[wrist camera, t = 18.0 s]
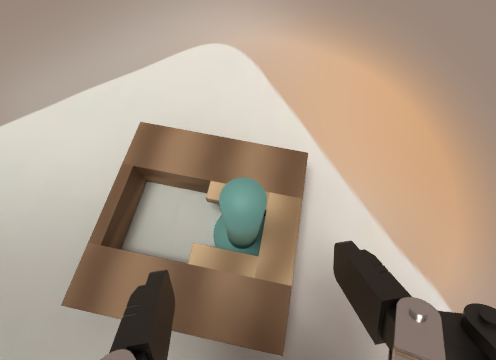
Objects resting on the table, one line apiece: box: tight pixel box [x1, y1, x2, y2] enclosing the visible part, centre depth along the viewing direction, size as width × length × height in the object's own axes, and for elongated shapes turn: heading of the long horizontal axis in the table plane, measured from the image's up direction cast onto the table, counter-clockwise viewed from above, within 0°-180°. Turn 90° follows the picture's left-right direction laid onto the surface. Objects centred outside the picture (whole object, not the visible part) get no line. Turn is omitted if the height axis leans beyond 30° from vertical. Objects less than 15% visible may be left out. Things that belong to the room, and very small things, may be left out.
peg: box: [214, 177, 267, 256], centre depth 19 cm, size 5×5×11 cm
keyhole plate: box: [61, 122, 308, 356], centre depth 23 cm, size 16×16×4 cm
